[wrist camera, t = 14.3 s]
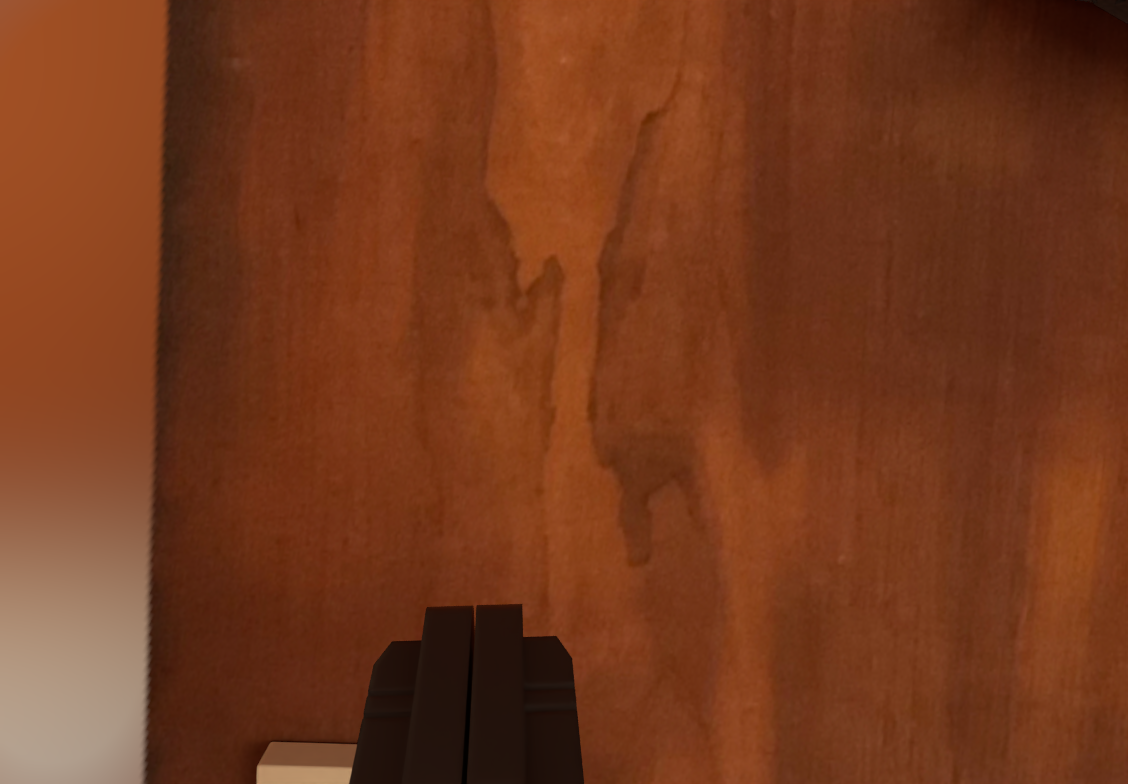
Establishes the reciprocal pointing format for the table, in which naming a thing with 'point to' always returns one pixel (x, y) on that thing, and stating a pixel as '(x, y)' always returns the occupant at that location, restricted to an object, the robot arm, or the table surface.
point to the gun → (1113, 7)
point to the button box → (306, 763)
